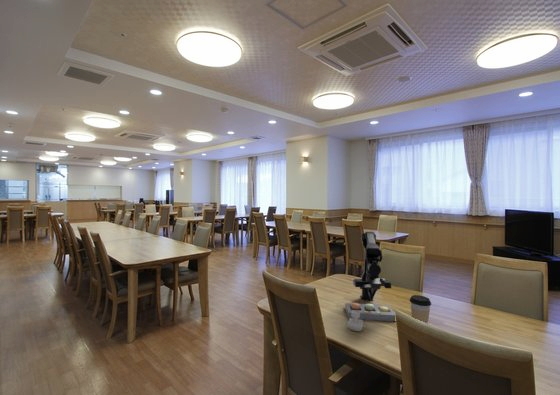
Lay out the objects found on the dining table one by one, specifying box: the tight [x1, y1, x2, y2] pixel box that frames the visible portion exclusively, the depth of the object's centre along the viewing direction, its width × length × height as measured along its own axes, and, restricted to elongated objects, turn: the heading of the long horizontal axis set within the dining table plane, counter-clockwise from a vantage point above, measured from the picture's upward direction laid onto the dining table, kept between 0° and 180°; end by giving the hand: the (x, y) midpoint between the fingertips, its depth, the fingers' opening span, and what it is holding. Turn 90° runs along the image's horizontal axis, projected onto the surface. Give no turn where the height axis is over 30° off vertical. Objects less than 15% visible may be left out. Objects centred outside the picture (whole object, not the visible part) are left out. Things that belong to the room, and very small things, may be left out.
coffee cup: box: [408, 294, 432, 324], centre depth 135 cm, size 9×9×15 cm
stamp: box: [345, 310, 366, 332], centre depth 133 cm, size 9×7×8 cm
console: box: [344, 302, 396, 322], centre depth 150 cm, size 13×24×3 cm, turn 86°
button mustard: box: [380, 306, 389, 312], centre depth 150 cm, size 4×4×3 cm
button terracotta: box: [351, 302, 361, 310], centre depth 151 cm, size 4×4×3 cm
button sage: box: [365, 303, 375, 311], centre depth 150 cm, size 4×4×3 cm
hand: (371, 299), depth 150 cm, fingers closed
